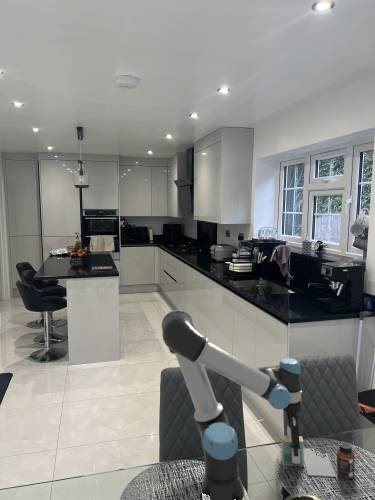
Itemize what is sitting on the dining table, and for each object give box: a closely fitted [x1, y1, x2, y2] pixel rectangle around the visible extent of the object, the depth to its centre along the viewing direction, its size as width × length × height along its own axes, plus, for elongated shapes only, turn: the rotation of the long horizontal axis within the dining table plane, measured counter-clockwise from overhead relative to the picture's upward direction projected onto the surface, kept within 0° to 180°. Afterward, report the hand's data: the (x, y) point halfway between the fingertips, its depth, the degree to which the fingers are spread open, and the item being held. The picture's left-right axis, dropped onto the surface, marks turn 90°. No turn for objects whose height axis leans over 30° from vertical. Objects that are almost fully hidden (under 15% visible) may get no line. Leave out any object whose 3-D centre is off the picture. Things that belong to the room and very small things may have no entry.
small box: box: [280, 435, 305, 467], centre depth 142 cm, size 8×4×10 cm, turn 82°
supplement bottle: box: [336, 441, 356, 480], centre depth 134 cm, size 6×6×11 cm
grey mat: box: [304, 447, 337, 478], centre depth 142 cm, size 10×16×1 cm, turn 172°
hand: (293, 451), depth 142 cm, fingers open, 13 cm apart
